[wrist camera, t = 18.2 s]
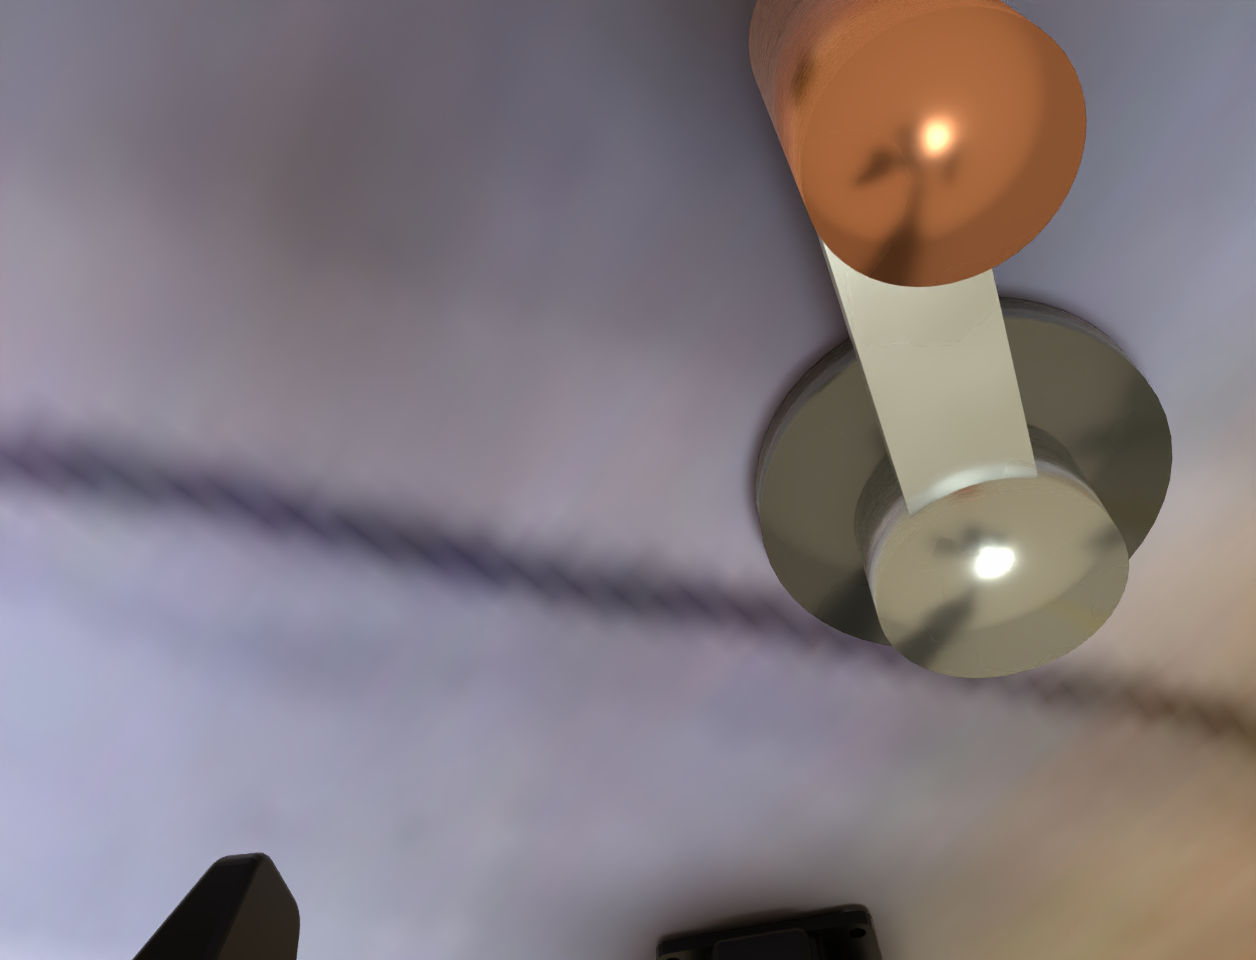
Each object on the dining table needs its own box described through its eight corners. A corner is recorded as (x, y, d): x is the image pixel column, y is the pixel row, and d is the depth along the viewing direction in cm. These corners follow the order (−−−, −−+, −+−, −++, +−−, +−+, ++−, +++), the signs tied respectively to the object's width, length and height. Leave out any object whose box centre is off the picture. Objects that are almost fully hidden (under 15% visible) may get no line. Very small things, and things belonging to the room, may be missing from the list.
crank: (1096, 559, 21) (1260, 845, 16) (884, 620, 22) (970, 910, 17) (957, -160, 14) (1175, -91, 9) (651, -24, 15) (668, 118, 9)
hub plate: (1148, 575, 23) (1168, 606, 22) (792, 647, 24) (798, 678, 24) (1153, 249, 19) (1177, 272, 18) (717, 356, 20) (721, 382, 19)
